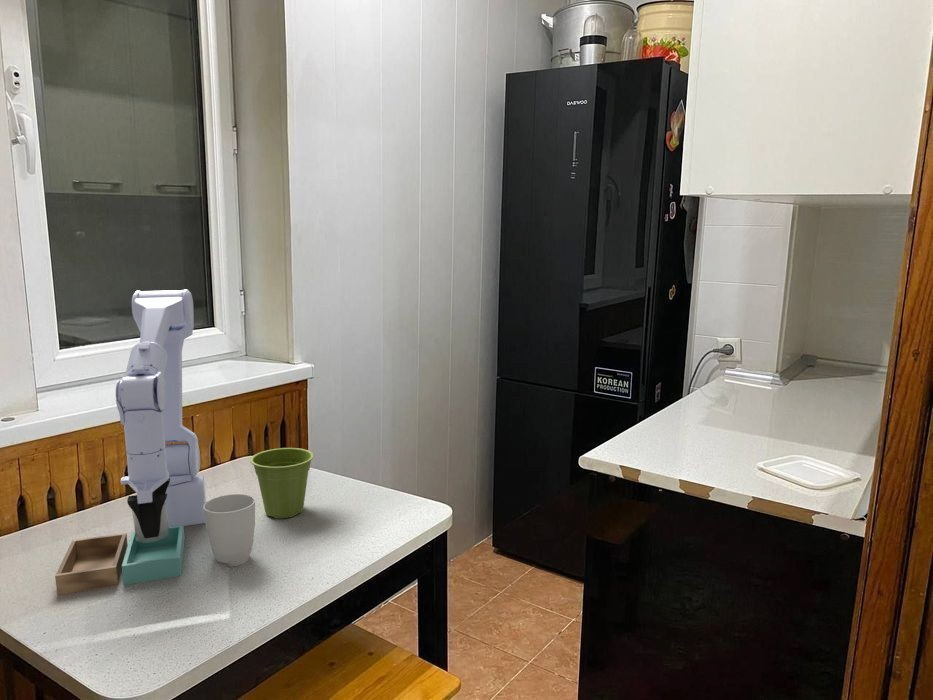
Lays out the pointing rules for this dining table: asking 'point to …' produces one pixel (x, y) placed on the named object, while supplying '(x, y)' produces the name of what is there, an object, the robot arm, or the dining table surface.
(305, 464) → the plant pot
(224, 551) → the cup
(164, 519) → the white rounded cube
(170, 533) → the teal bin
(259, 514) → the dining table surface
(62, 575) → the walnut bin
